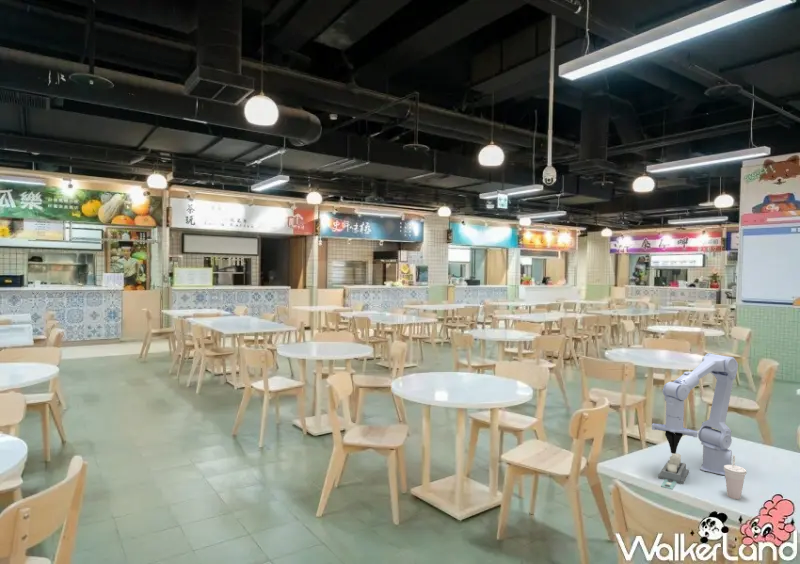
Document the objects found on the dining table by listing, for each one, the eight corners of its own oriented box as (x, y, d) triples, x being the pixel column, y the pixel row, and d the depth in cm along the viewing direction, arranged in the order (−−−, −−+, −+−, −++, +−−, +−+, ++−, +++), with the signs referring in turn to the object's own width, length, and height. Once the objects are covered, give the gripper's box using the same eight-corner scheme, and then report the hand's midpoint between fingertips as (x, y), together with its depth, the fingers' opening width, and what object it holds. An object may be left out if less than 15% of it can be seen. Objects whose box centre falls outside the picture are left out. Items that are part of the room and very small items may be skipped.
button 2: (681, 464, 189) (681, 454, 189) (679, 467, 187) (680, 456, 186) (672, 462, 191) (672, 452, 191) (670, 465, 188) (671, 454, 188)
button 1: (677, 475, 182) (677, 464, 182) (675, 477, 180) (676, 466, 180) (668, 473, 184) (668, 462, 184) (666, 475, 181) (666, 464, 181)
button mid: (679, 468, 185) (679, 457, 185) (677, 470, 183) (678, 459, 183) (670, 466, 187) (670, 455, 187) (668, 468, 185) (669, 457, 185)
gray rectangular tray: (688, 472, 188) (689, 464, 188) (683, 484, 177) (683, 475, 177) (665, 466, 193) (665, 459, 193) (658, 478, 182) (658, 470, 182)
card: (676, 482, 179) (676, 481, 179) (672, 489, 173) (672, 488, 173) (665, 479, 181) (665, 478, 181) (660, 486, 175) (661, 485, 175)
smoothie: (718, 492, 171) (719, 452, 171) (735, 492, 172) (737, 451, 171) (732, 501, 165) (733, 459, 164) (750, 500, 165) (751, 458, 165)
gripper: (650, 414, 183) (649, 451, 184) (696, 422, 175) (695, 460, 175) (654, 410, 189) (653, 445, 189) (698, 417, 180) (697, 454, 181)
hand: (673, 452), depth 183 cm, fingers closed
